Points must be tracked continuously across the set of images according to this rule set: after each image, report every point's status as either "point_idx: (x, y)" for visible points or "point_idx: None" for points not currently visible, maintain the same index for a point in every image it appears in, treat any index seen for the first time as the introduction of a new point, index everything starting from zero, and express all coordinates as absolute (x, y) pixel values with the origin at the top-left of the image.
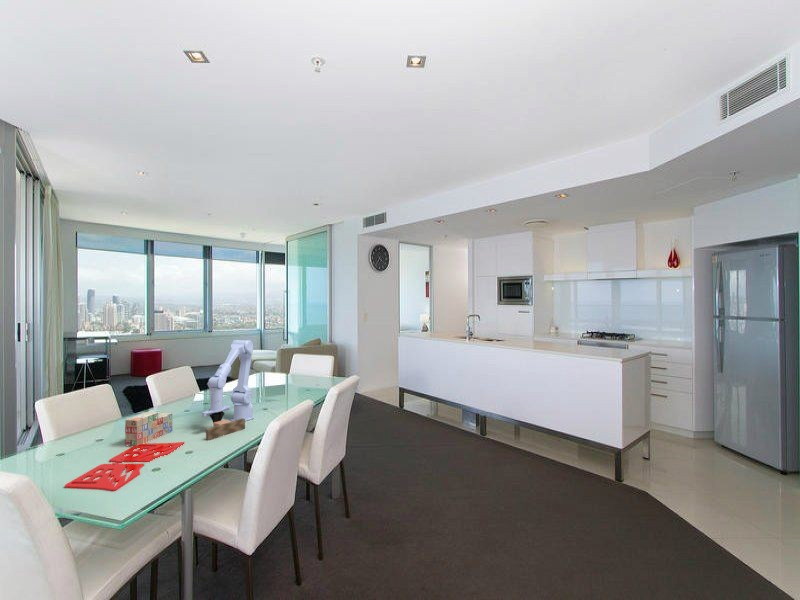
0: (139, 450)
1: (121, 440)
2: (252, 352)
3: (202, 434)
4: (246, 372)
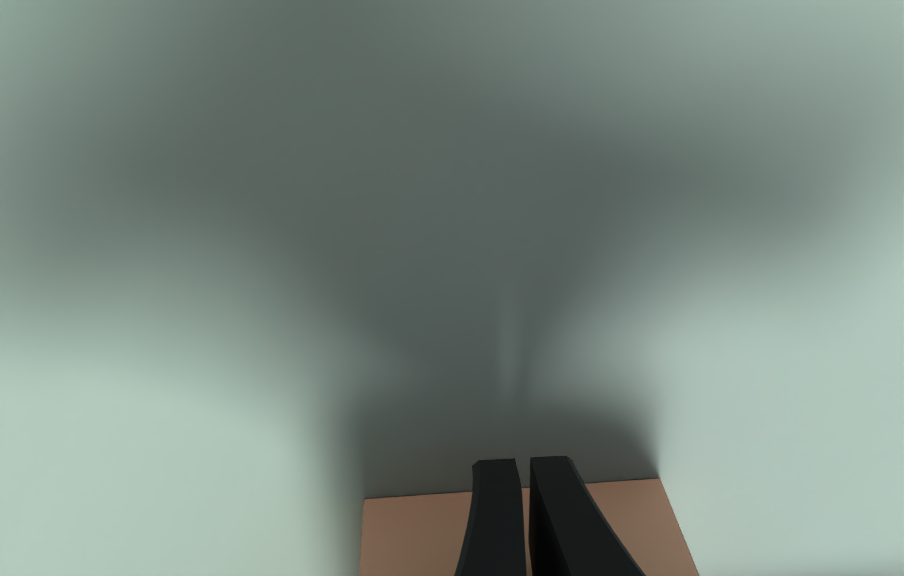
0: None
1: None
2: None
3: (123, 425)
4: None
